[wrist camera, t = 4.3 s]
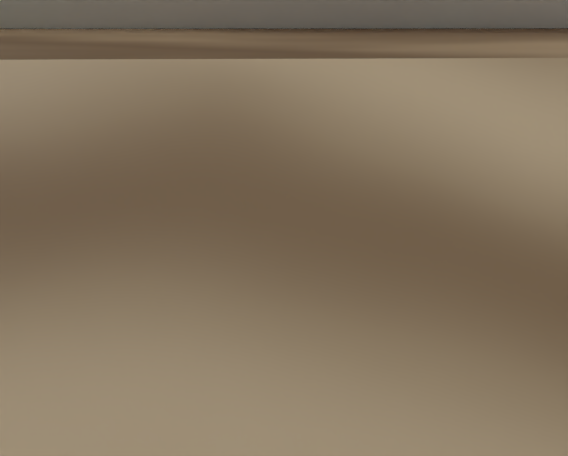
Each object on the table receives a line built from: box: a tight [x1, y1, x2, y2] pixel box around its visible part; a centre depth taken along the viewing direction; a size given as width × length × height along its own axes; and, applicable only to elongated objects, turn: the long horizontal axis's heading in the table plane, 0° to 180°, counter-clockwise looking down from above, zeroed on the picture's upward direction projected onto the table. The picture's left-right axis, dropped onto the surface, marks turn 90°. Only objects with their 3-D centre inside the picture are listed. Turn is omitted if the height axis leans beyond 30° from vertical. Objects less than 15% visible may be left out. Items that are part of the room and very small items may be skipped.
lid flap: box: [0, 58, 568, 456], centre depth 7 cm, size 8×17×1 cm
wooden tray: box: [0, 29, 568, 60], centre depth 16 cm, size 16×18×5 cm
